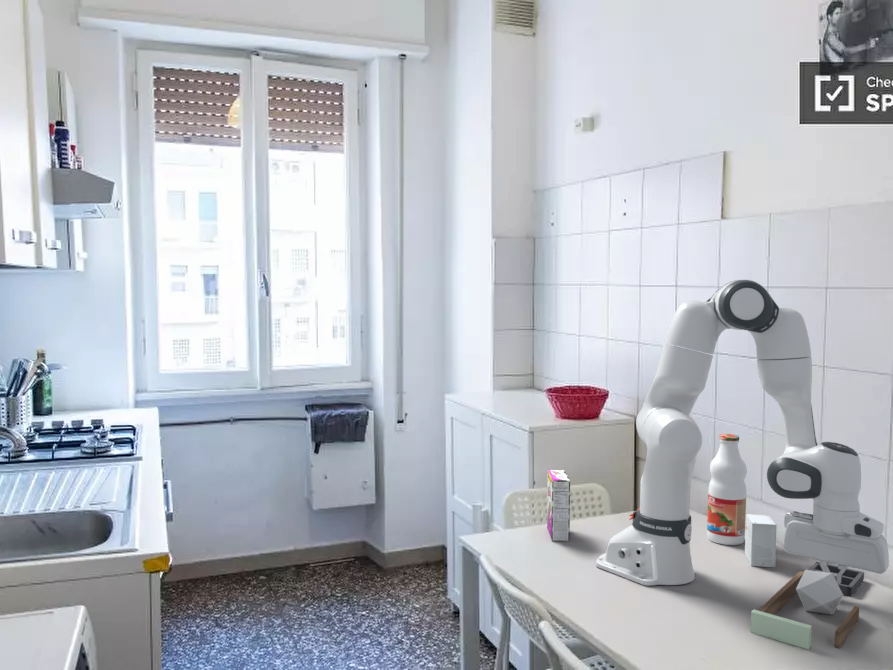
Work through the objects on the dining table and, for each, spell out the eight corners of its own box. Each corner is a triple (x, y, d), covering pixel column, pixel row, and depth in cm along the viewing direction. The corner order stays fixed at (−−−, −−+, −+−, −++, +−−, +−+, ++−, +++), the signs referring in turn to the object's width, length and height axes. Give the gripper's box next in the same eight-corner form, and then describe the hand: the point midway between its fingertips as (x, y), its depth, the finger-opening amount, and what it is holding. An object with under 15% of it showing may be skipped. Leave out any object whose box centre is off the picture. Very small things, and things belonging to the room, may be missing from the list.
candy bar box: (545, 528, 206) (546, 469, 205) (563, 528, 206) (565, 469, 205) (550, 541, 194) (552, 479, 193) (569, 542, 194) (571, 480, 193)
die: (828, 626, 148) (856, 587, 149) (788, 596, 152) (815, 558, 153) (822, 624, 156) (848, 587, 156) (784, 596, 160) (810, 560, 160)
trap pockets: (801, 584, 168) (802, 575, 168) (816, 569, 177) (816, 561, 177) (851, 596, 161) (851, 587, 161) (863, 580, 170) (864, 572, 170)
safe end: (750, 631, 144) (751, 611, 144) (752, 629, 145) (753, 609, 145) (808, 649, 137) (809, 628, 137) (810, 646, 138) (811, 625, 138)
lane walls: (751, 631, 144) (751, 616, 144) (799, 583, 168) (799, 570, 168) (833, 655, 135) (834, 639, 135) (872, 602, 159) (873, 588, 159)
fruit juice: (751, 545, 194) (755, 438, 192) (718, 546, 192) (722, 439, 190) (732, 533, 203) (736, 431, 201) (700, 534, 201) (703, 432, 200)
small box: (775, 568, 178) (777, 524, 177) (750, 566, 179) (752, 523, 178) (768, 556, 186) (769, 515, 185) (744, 554, 187) (745, 513, 186)
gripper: (780, 512, 165) (777, 573, 165) (886, 533, 151) (882, 599, 152) (788, 506, 169) (786, 565, 170) (892, 525, 156) (889, 590, 157)
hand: (832, 582), depth 161 cm, fingers closed
